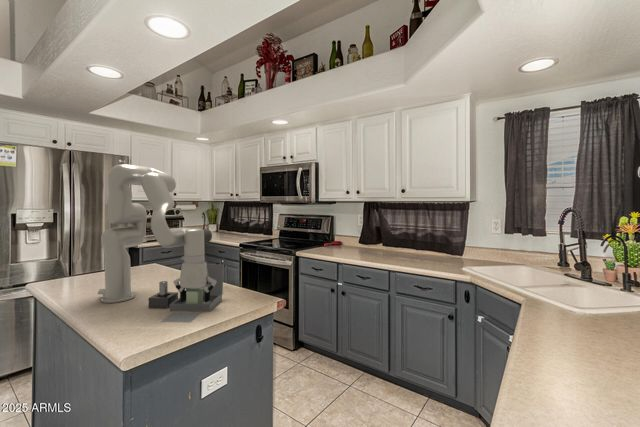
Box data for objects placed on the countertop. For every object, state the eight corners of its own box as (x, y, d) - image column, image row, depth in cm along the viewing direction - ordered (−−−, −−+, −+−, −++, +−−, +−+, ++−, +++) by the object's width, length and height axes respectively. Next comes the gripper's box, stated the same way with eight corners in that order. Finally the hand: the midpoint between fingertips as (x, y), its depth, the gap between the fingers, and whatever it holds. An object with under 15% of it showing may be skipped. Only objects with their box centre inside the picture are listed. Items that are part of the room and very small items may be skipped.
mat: (160, 323, 109) (160, 321, 109) (173, 313, 118) (173, 312, 118) (190, 323, 108) (190, 322, 108) (201, 314, 117) (201, 313, 117)
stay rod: (158, 307, 125) (157, 282, 125) (162, 304, 128) (161, 280, 128) (165, 307, 125) (165, 282, 125) (169, 304, 128) (168, 281, 128)
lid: (187, 263, 134) (188, 263, 135) (185, 294, 133) (186, 294, 133) (223, 264, 134) (224, 264, 135) (221, 294, 132) (222, 294, 133)
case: (169, 311, 120) (169, 304, 120) (185, 301, 133) (185, 294, 133) (209, 312, 119) (209, 305, 119) (221, 301, 132) (221, 294, 132)
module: (186, 309, 122) (186, 291, 121) (192, 304, 127) (192, 288, 126) (197, 309, 121) (197, 291, 121) (202, 305, 126) (202, 288, 126)
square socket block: (148, 309, 123) (148, 297, 123) (159, 302, 131) (159, 292, 131) (168, 309, 122) (167, 298, 122) (178, 302, 130) (178, 292, 130)
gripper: (168, 260, 120) (169, 304, 120) (212, 261, 119) (212, 304, 120) (178, 257, 127) (179, 298, 128) (219, 257, 127) (219, 298, 127)
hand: (195, 301), depth 124 cm, fingers open, 9 cm apart
